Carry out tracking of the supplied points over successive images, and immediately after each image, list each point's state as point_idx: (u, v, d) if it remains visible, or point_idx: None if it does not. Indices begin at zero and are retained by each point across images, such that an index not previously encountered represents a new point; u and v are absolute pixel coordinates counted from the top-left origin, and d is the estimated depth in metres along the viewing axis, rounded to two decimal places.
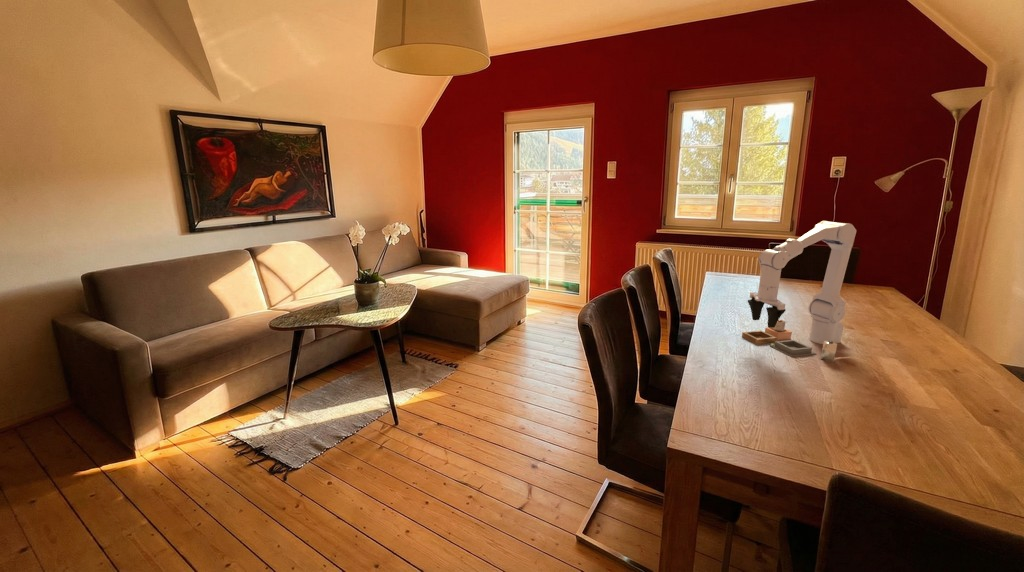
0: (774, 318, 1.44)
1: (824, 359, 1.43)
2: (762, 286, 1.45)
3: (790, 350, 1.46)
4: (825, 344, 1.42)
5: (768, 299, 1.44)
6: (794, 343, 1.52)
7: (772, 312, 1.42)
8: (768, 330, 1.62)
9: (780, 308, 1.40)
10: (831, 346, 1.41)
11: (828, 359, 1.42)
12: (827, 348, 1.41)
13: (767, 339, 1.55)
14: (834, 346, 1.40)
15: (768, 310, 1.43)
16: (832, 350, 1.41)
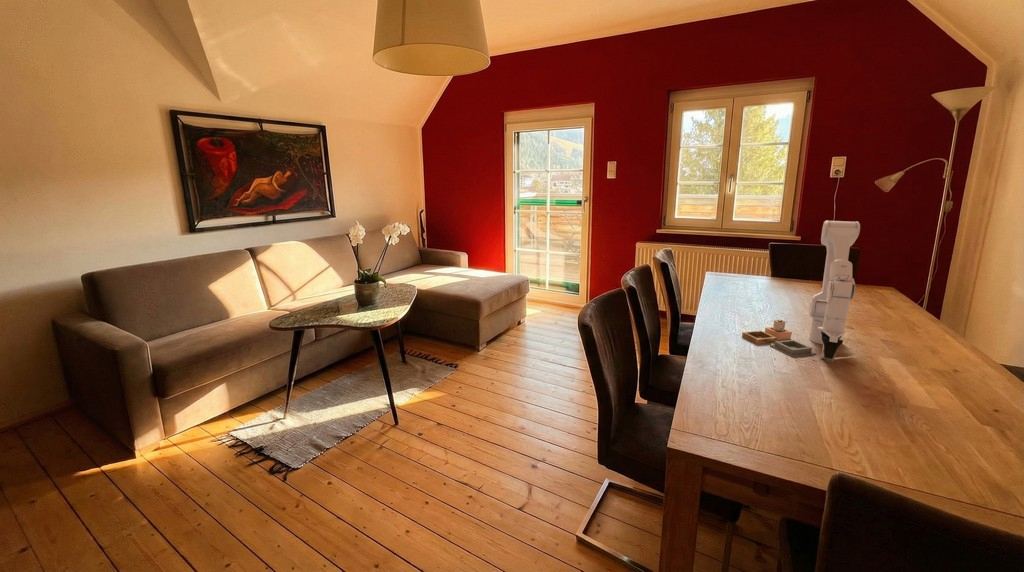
0: (831, 349, 1.40)
1: (824, 359, 1.43)
2: (825, 315, 1.41)
3: (790, 350, 1.46)
4: None
5: (828, 330, 1.39)
6: (794, 343, 1.52)
7: (824, 341, 1.39)
8: (768, 330, 1.62)
9: (831, 340, 1.36)
10: None
11: (828, 359, 1.42)
12: None
13: (767, 339, 1.55)
14: None
15: (822, 338, 1.41)
16: None
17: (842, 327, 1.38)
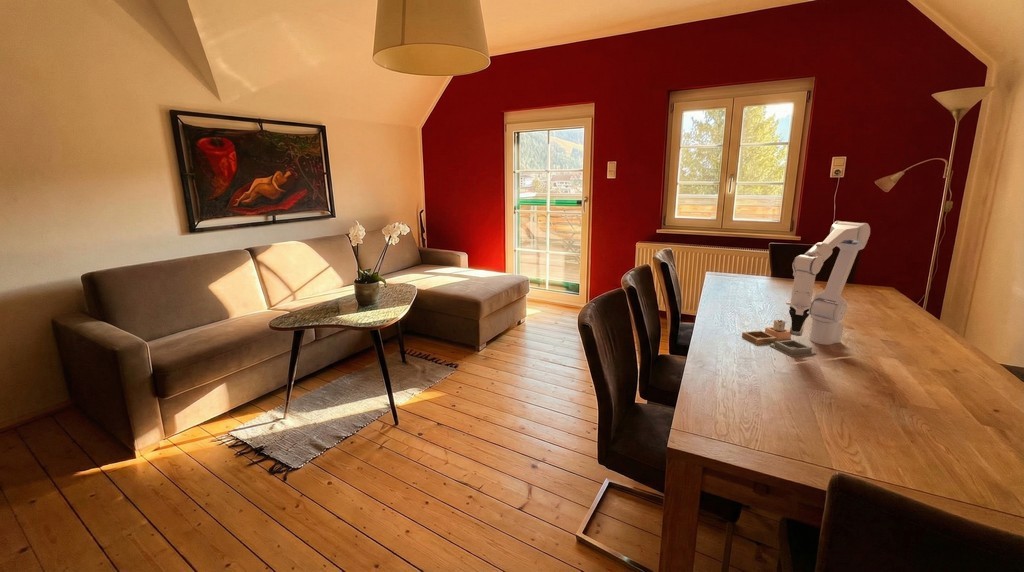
0: (798, 322, 1.45)
1: (792, 333, 1.47)
2: (792, 290, 1.45)
3: (790, 350, 1.46)
4: None
5: (795, 304, 1.44)
6: (794, 343, 1.52)
7: (791, 314, 1.44)
8: (768, 330, 1.62)
9: (797, 313, 1.40)
10: None
11: (796, 333, 1.46)
12: None
13: (767, 339, 1.55)
14: None
15: (789, 312, 1.45)
16: None
17: (808, 301, 1.42)
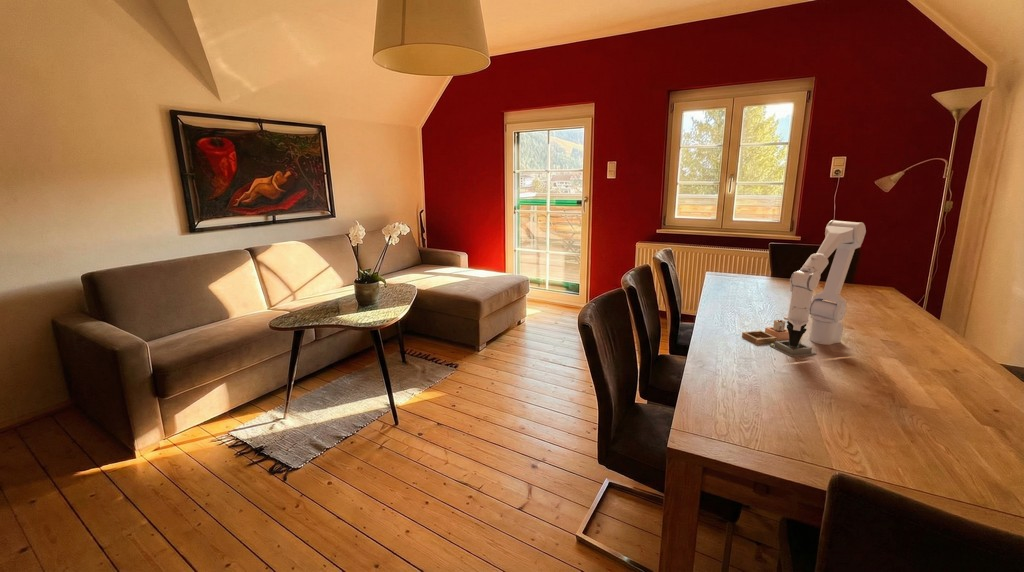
0: (795, 337, 1.46)
1: None
2: (790, 305, 1.47)
3: (790, 350, 1.46)
4: None
5: (792, 319, 1.45)
6: None
7: (788, 330, 1.45)
8: (768, 330, 1.62)
9: (794, 328, 1.42)
10: None
11: (794, 348, 1.48)
12: None
13: (767, 339, 1.55)
14: None
15: (787, 327, 1.47)
16: None
17: (806, 316, 1.44)
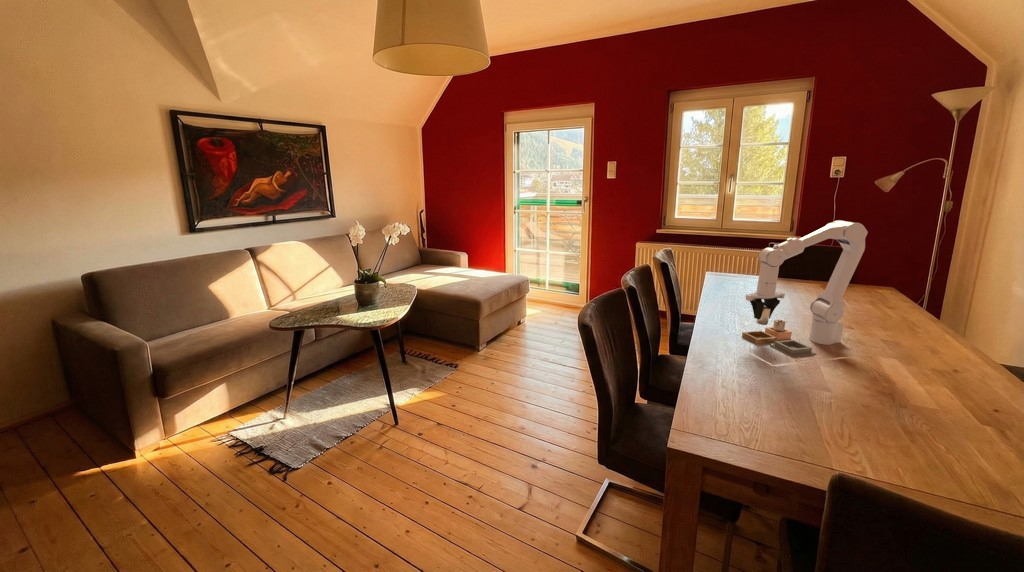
0: (757, 310, 1.56)
1: (756, 321, 1.58)
2: None
3: (790, 350, 1.46)
4: None
5: (756, 292, 1.56)
6: (794, 343, 1.52)
7: (750, 301, 1.57)
8: (768, 330, 1.62)
9: (746, 298, 1.54)
10: None
11: (758, 321, 1.57)
12: None
13: (767, 339, 1.55)
14: (763, 310, 1.54)
15: None
16: None
17: (766, 291, 1.52)
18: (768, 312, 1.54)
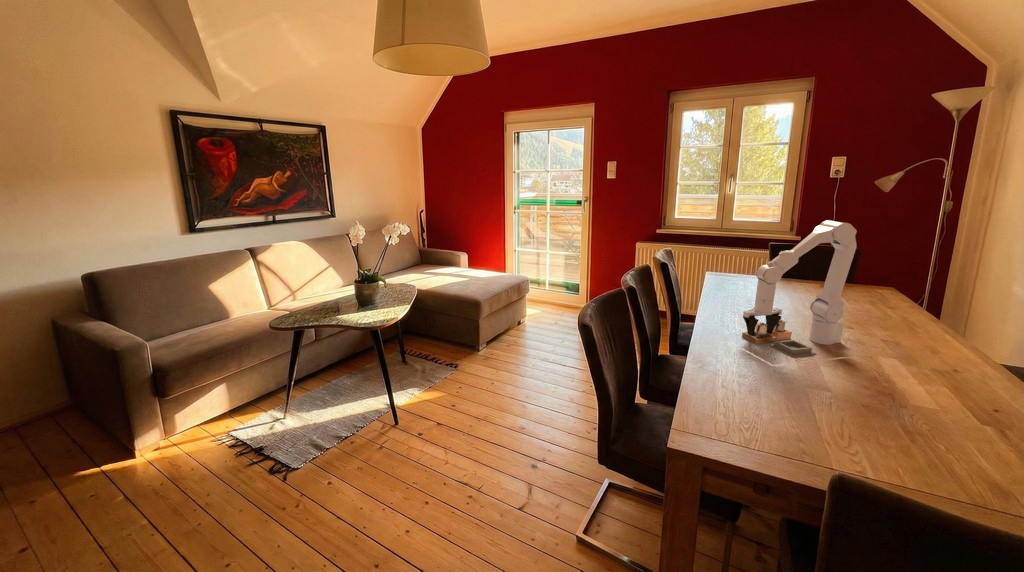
0: (750, 326, 1.57)
1: None
2: None
3: (790, 350, 1.46)
4: (756, 324, 1.59)
5: (754, 308, 1.57)
6: (794, 343, 1.52)
7: None
8: None
9: (743, 314, 1.56)
10: (758, 326, 1.57)
11: None
12: (756, 327, 1.58)
13: (767, 339, 1.55)
14: (760, 326, 1.57)
15: None
16: (758, 330, 1.57)
17: (763, 307, 1.54)
18: (765, 328, 1.56)
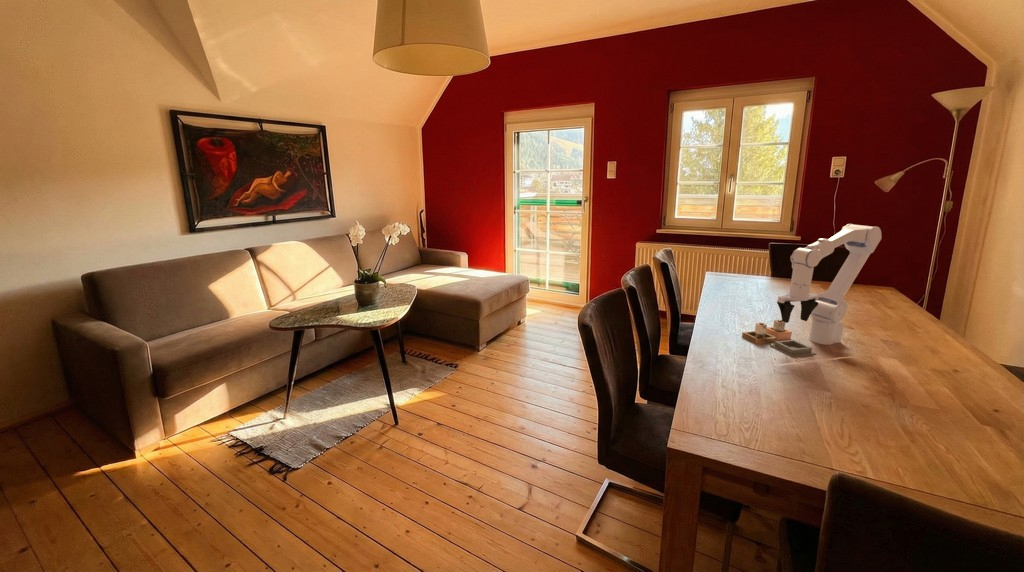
0: (785, 313, 1.49)
1: None
2: None
3: (790, 350, 1.46)
4: None
5: (789, 294, 1.50)
6: (794, 343, 1.52)
7: (778, 303, 1.51)
8: (768, 330, 1.62)
9: (778, 300, 1.48)
10: (757, 326, 1.57)
11: None
12: (755, 328, 1.58)
13: (767, 339, 1.55)
14: (760, 327, 1.56)
15: None
16: (758, 330, 1.57)
17: (799, 292, 1.46)
18: (765, 329, 1.56)
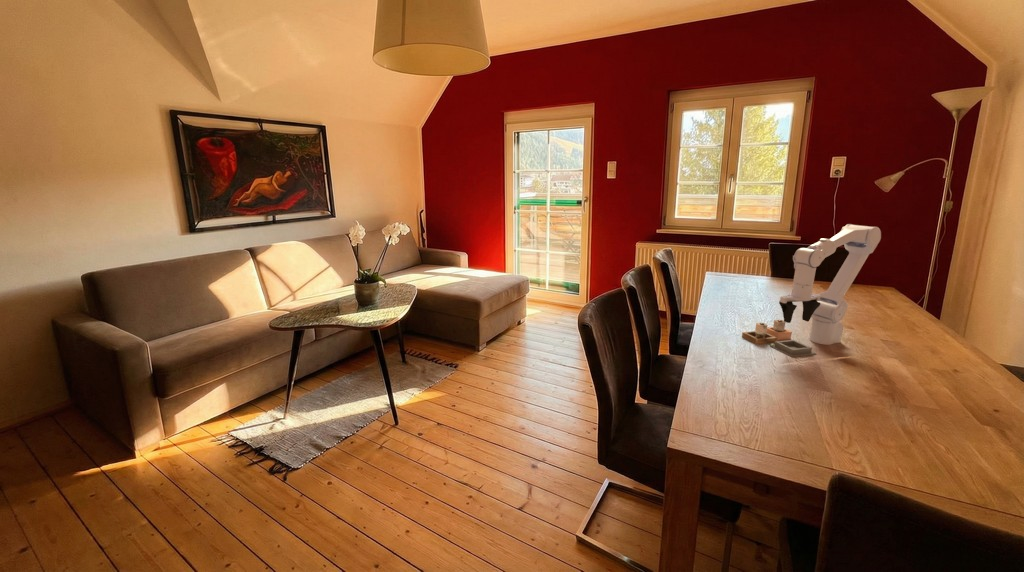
0: (788, 313, 1.49)
1: None
2: None
3: (790, 350, 1.46)
4: (756, 324, 1.59)
5: (791, 294, 1.49)
6: (794, 343, 1.52)
7: (780, 304, 1.50)
8: (768, 330, 1.62)
9: (780, 300, 1.48)
10: (758, 326, 1.57)
11: None
12: (756, 328, 1.58)
13: (767, 339, 1.55)
14: (760, 327, 1.56)
15: None
16: (758, 330, 1.57)
17: (802, 293, 1.46)
18: (765, 329, 1.56)
